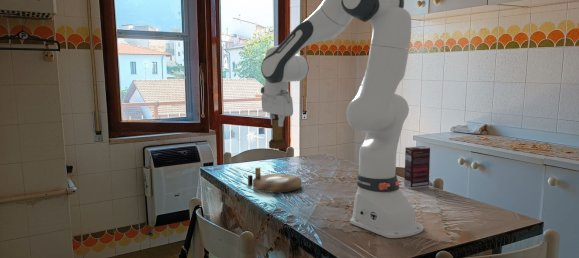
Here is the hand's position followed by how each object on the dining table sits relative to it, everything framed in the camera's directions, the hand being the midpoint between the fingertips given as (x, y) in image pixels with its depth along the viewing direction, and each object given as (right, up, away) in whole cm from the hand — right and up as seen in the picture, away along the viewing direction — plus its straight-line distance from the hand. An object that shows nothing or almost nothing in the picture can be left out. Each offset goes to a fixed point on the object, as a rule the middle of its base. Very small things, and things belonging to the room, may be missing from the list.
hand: (277, 125), depth 159 cm
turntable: (0, -24, +4) cm, 25 cm away
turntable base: (-2, -24, +4) cm, 25 cm away
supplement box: (+55, -24, +4) cm, 60 cm away
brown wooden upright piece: (0, -9, +1) cm, 9 cm away
